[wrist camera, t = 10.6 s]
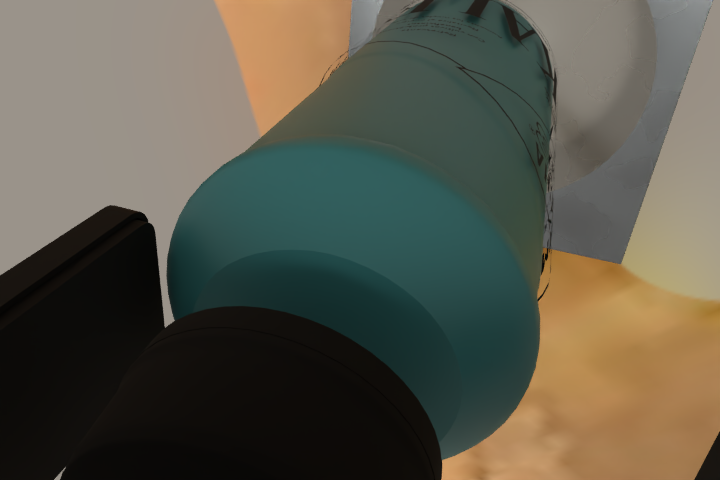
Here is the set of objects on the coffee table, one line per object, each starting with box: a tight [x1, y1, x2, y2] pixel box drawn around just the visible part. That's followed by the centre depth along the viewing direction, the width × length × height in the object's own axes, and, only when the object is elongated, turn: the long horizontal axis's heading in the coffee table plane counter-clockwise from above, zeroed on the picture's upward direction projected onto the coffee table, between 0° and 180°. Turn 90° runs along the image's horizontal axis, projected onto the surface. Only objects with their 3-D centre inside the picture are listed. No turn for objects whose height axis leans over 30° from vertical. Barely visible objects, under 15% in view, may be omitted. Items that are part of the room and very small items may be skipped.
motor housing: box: [348, 0, 713, 264], centre depth 26 cm, size 18×12×6 cm, turn 176°
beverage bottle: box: [60, 0, 558, 480], centre depth 15 cm, size 6×7×20 cm
